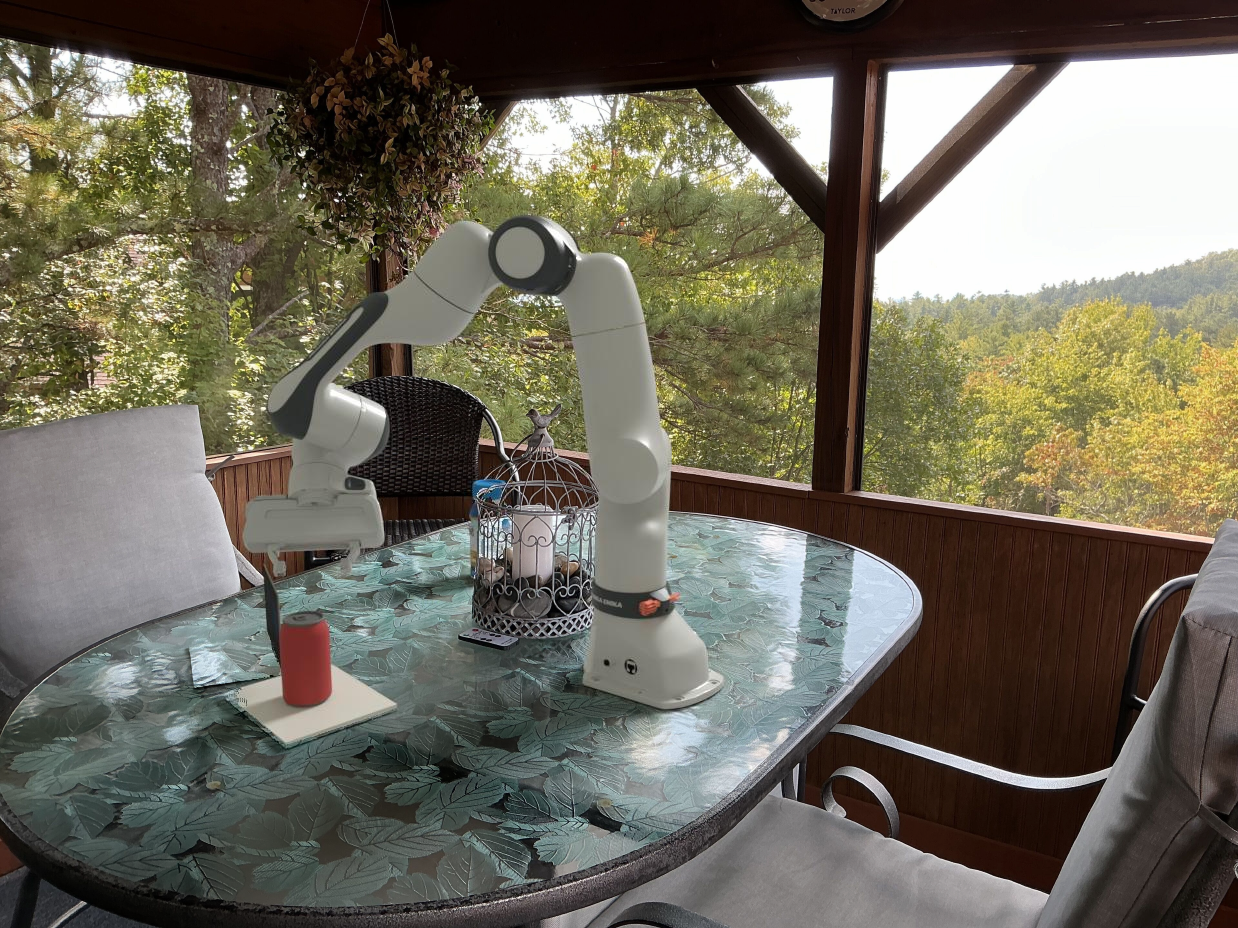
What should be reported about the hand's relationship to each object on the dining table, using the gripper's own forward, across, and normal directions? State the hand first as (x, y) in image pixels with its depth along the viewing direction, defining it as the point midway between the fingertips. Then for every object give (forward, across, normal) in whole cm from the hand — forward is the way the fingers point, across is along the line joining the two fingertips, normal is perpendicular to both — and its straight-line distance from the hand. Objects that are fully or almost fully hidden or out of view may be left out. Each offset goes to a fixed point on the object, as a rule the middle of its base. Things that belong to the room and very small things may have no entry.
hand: (312, 573), depth 132 cm
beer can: (+17, 0, +5) cm, 18 cm away
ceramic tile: (+18, 0, +6) cm, 19 cm away
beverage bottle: (-21, +28, +45) cm, 57 cm away
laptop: (+6, -14, +19) cm, 24 cm away
